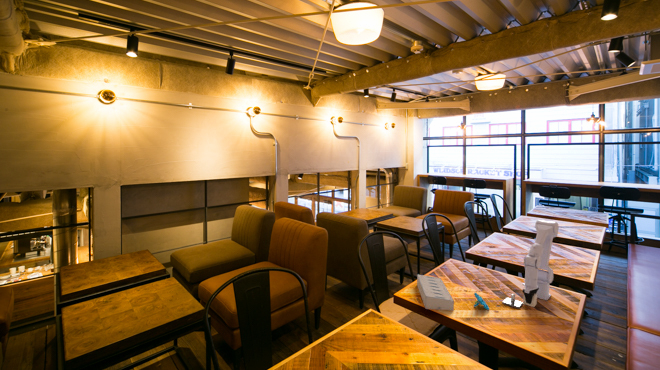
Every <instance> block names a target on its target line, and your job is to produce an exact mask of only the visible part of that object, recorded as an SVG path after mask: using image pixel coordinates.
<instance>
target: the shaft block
mask: <svg viewBox="0 0 660 370" xmlns="http://www.w3.org/2000/svg"><path fill="white" fill-rule="evenodd" d="M502 305H506V306H509V307H512V308H516V309H518V310H519V309H520V308H521V307H522V306H523V305H524V304H523V301H522V300H521V301H520V300H516V294H515V293H514V292H513V293H511V294H510V297H505V299H504V300H503V301H502Z"/></svg>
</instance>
